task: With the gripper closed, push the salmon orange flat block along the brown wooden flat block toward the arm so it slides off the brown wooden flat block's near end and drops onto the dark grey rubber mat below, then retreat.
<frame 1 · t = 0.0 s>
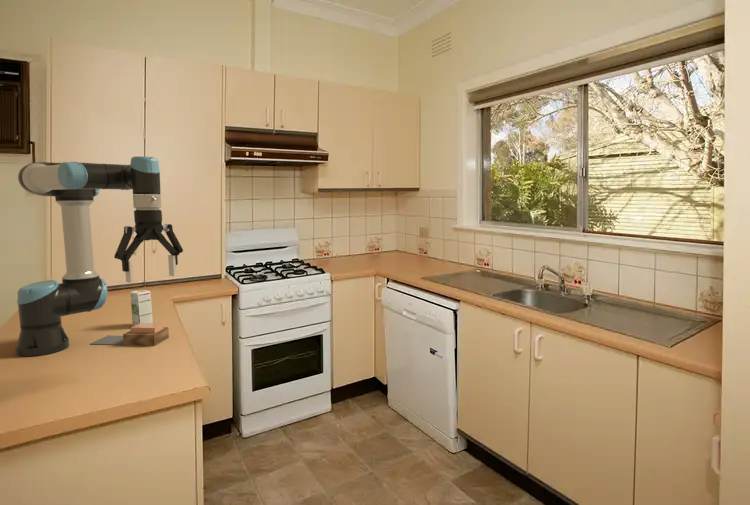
hand: (152, 279, 142), 28 cm above the counter, fingers open, 13 cm apart
brown wooden flat block: (146, 341, 172), on the counter
syrup box: (142, 325, 193), on the counter
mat: (115, 340, 173), on the counter
salmon orange flat block: (147, 330, 171), point 4 cm above the counter, touching brown wooden flat block
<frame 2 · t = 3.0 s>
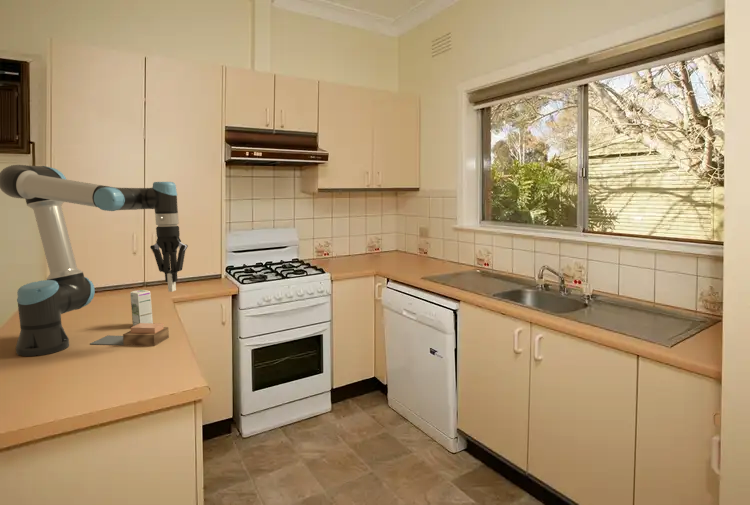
hand: (172, 290, 169), 19 cm above the counter, fingers closed
nothing on the counter moved.
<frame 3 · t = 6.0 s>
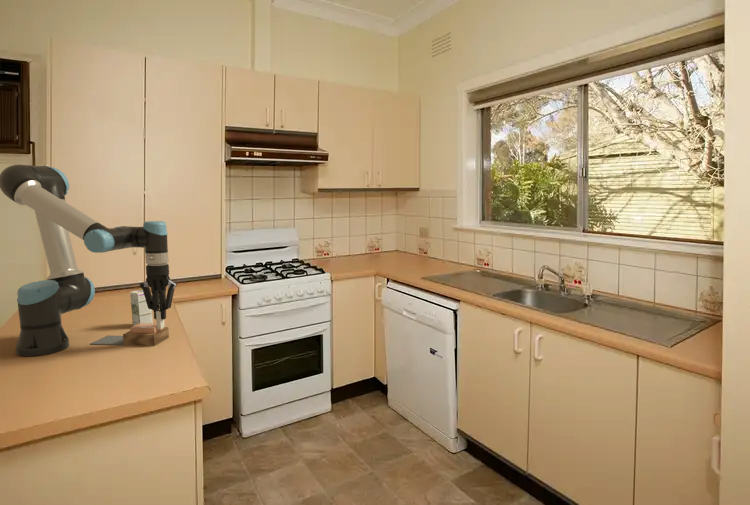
hand: (160, 327, 171), 5 cm above the counter, fingers closed
salmon orange flat block: (147, 330, 171), point 4 cm above the counter, touching brown wooden flat block, gripper
everything else where it was.
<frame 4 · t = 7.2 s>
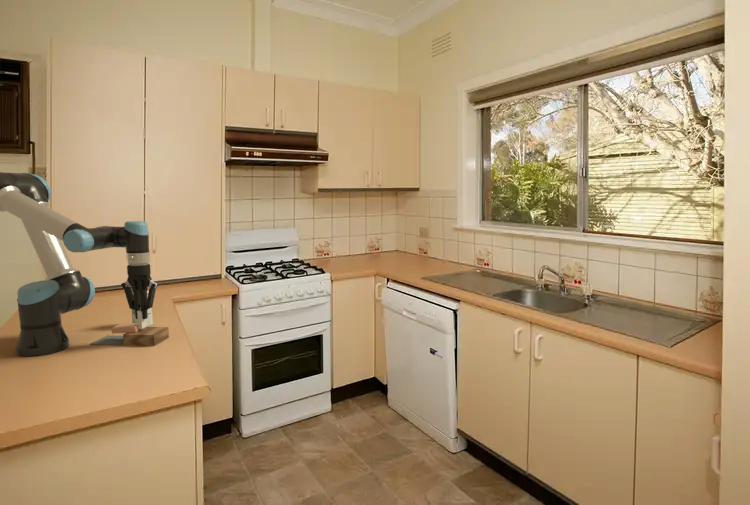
hand: (142, 327, 171), 5 cm above the counter, fingers closed
salmon orange flat block: (128, 330, 172), point 4 cm above the counter, touching gripper
everything else where it was.
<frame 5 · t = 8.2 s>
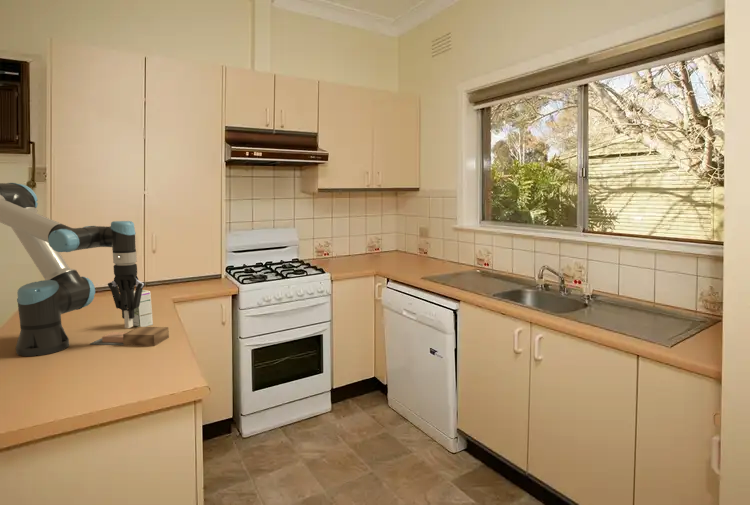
hand: (129, 327, 172), 5 cm above the counter, fingers closed
salmon orange flat block: (119, 339, 173), resting on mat
everything else where it was.
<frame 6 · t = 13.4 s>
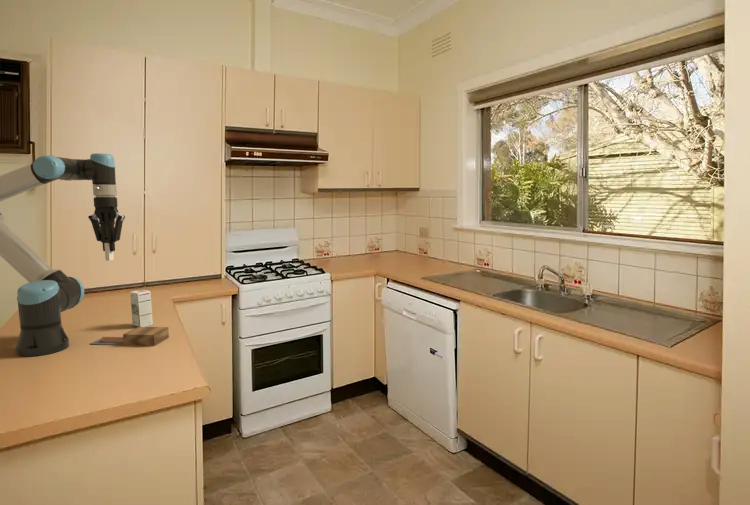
hand: (109, 260, 174), 29 cm above the counter, fingers closed
nothing on the counter moved.
at the end: salmon orange flat block resting on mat; salmon orange flat block 1.4 cm from the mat (horizontally) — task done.
